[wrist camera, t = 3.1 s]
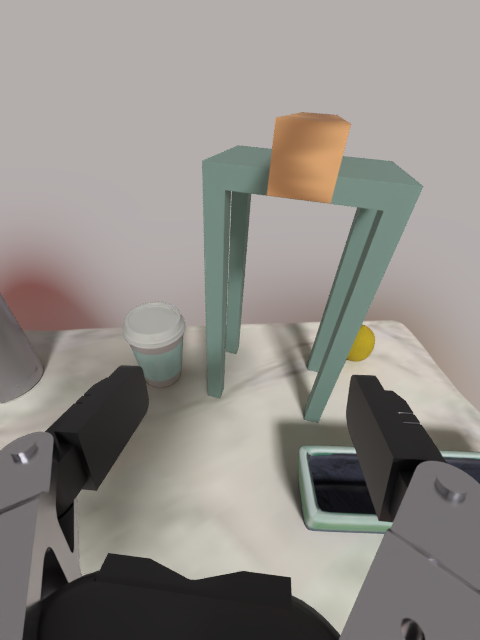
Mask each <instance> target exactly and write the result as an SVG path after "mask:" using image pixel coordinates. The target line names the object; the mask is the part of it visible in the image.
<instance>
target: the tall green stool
mask: <svg viewBox="0 0 480 640" xmlns="http://www.w3.org/2000/svg"><path fill="white" fill-rule="evenodd" d="M271 155H272V149H267V148H258V147H248V146H236V147H233V148H231V149H229V150H226V151H224V152H222V153H220V154H217V155H215V156H212V157H210V158H208V159H205V160H203V161H202V172H203V214H204V257H205V298H206V342H207V385H208V395H209V396H212V397H216V398H220V397H221V394H222V392H223V389H224V366H225V339H226V352H231V353H235V354H236V353H237V350H238V347H239V339H240V326H241V314H242V301H243V288H244V276H245V264H246V252H247V239H248V227H249V214H250V201H251V194H259V195H267V189H268V181H269V172H270V163H271ZM422 188H423V186H422V185H421V184H420V183H419V182H417V181H416V180H415V179H414V178H412V177H411V176H410V175H409V174H407V173H406V172H405V171H404V170H402V169H401V168H400V167H399V166H397V165H396V164H395V163H394V162H392V161H383V160H374V159H365V158H354V157H344V156H343V157H342V161H341V165H340V169H339V172H338V176H337V180H336V184H335V188H334V192H333V196H332V200H331V204H336V205H344V206H351V207H357V210H356V213H355V216H354V220H353V223H352V226H351V229H350V232H349V236H348V239H347V241H346V245H345V248H344V251H343V254H342V257H341V260H340V264H339V266H338V270H337V273H336V276H335V279H334V282H333V286H332V289H331V292H330V295H329V298H328V301H327V304H326V307H325V310H324V313H323V317H322V320H321V323H320V326H319V329H318V332H317V335H316V338H315V342H314V345H313V348H312V351H311V354H310V357H309V360H308V370H311V371H316V372H318V374H317V377H316V379H315V382H314V385H313V388H312V390H311V393H310V396H309V398H308V401H307V404H306V407H305V415H304V420H308V421H312V422H316V423H318V422H319V419H320V417H321V415H322V413H323V410H324V408H325V406H326V404H327V401H328V399H329V397H330V395H331V392H332V390H333V388H334V386H335V383H336V381H337V379H338V377H339V374H340V372H341V370H342V368H343V365H344V363H345V361H346V359H347V356H348V354H349V352H350V350H351V347H352V345H353V343H354V341H355V338H356V336H357V334H358V332H359V329H360V327H361V325H362V323H363V320H364V318H365V316H366V314H367V312H368V309H369V307H370V305H371V302H372V300H373V298H374V296H375V294H376V291H377V289H378V287H379V285H380V282H381V280H382V278H383V276H384V273H385V271H386V269H387V267H388V264H389V262H390V260H391V258H392V255H393V253H394V251H395V249H396V246H397V244H398V242H399V240H400V237H401V235H402V233H403V231H404V228H405V226H406V224H407V221H408V219H409V217H410V215H411V213H412V210H413V208H414V206H415V204H416V201H417V199H418V197H419V195H420V192H421V190H422ZM231 191H232V202H231V201H230V199H231ZM267 196H268V195H267ZM274 197H276V196H274ZM282 198H284V197H282ZM290 199H291V198H290ZM297 200H299V199H297ZM306 201H307V200H306ZM230 202H231V203H232V204H231V228H230ZM313 202H314V201H313ZM321 203H322V202H321ZM328 204H330V203H328ZM229 229H230V255H229ZM228 255H229V256H228ZM228 257H229V280H228ZM227 283H228V306H227ZM226 312H227V331H226Z"/></svg>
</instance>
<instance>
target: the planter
mask: <svg viewBox="0 0 480 640" xmlns="http://www.w3.org/2000/svg"><path fill="white" fill-rule="evenodd" d="M439 451H440V453H441V454H442V456H443V457H444V459H445V460H446V462H447V463H448V464H450V465H452V466H454V467H457V468H458V469H460V470H462V471H464V472H465V473H467V474H468V475H470V476H471V477H472V478H474V479H475V480H476V481H477V482H478V483H479V484H480V452H467V451H444V450H439ZM298 479H299V489H300V496H301V503H302V510H303V517H304V523H305V526H306V528H307V529H308V530H312V531H326V532H351V533H379V534H385V533H386V531H387V529H388V528H391V526H392V524H393V522H383V521H378V518H377V515H376V512H375V509H374V506H373V503H372V499H371V496H370V493H369V490H368V487H367V484H366V481H365V478H364V475H363V472H362V469H361V466H360V463H359V460H358V457H357V454H356V451H355V448H354V447H348V446H321V445H305V446H301V447H300V449H299V452H298Z"/></svg>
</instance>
